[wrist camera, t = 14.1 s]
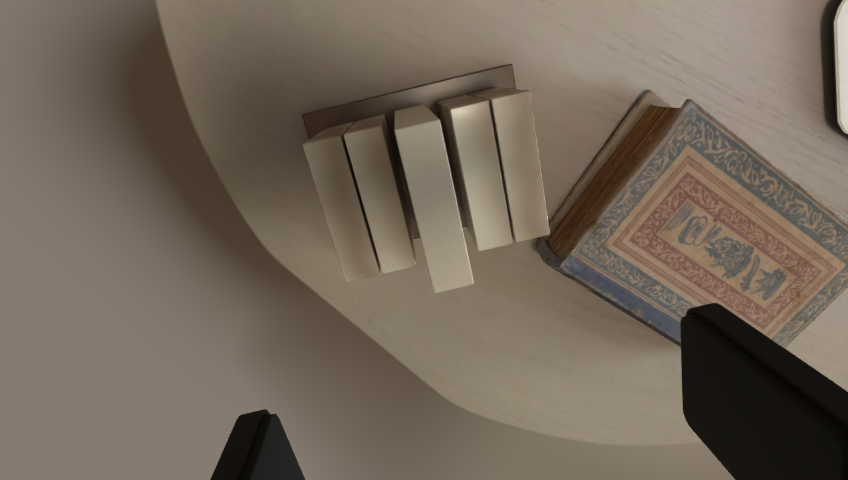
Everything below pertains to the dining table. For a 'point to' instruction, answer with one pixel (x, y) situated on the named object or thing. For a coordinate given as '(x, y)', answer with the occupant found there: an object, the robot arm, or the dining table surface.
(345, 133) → the white books
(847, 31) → the plate
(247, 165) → the dining table surface
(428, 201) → the white book
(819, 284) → the book
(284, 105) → the dining table surface
